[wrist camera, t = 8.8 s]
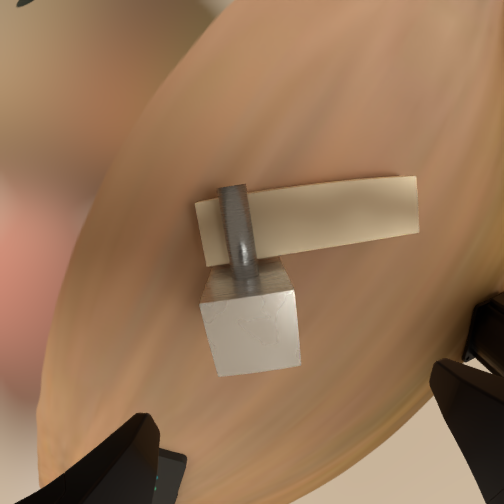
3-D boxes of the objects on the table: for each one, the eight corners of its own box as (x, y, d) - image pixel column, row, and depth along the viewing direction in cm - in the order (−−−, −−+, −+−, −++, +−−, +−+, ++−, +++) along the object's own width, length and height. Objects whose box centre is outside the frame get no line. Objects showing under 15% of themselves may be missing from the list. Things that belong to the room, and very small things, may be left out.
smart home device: (188, 464, 21) (171, 514, 26) (190, 452, 23) (173, 506, 27) (110, 440, 20) (119, 498, 25) (115, 429, 22) (122, 490, 26)
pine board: (403, 227, 17) (419, 232, 15) (210, 257, 17) (206, 266, 15) (399, 175, 16) (415, 176, 14) (200, 200, 16) (194, 203, 14)
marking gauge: (284, 311, 18) (301, 365, 12) (225, 320, 18) (218, 376, 12) (267, 180, 16) (280, 178, 10) (200, 191, 16) (177, 196, 10)
